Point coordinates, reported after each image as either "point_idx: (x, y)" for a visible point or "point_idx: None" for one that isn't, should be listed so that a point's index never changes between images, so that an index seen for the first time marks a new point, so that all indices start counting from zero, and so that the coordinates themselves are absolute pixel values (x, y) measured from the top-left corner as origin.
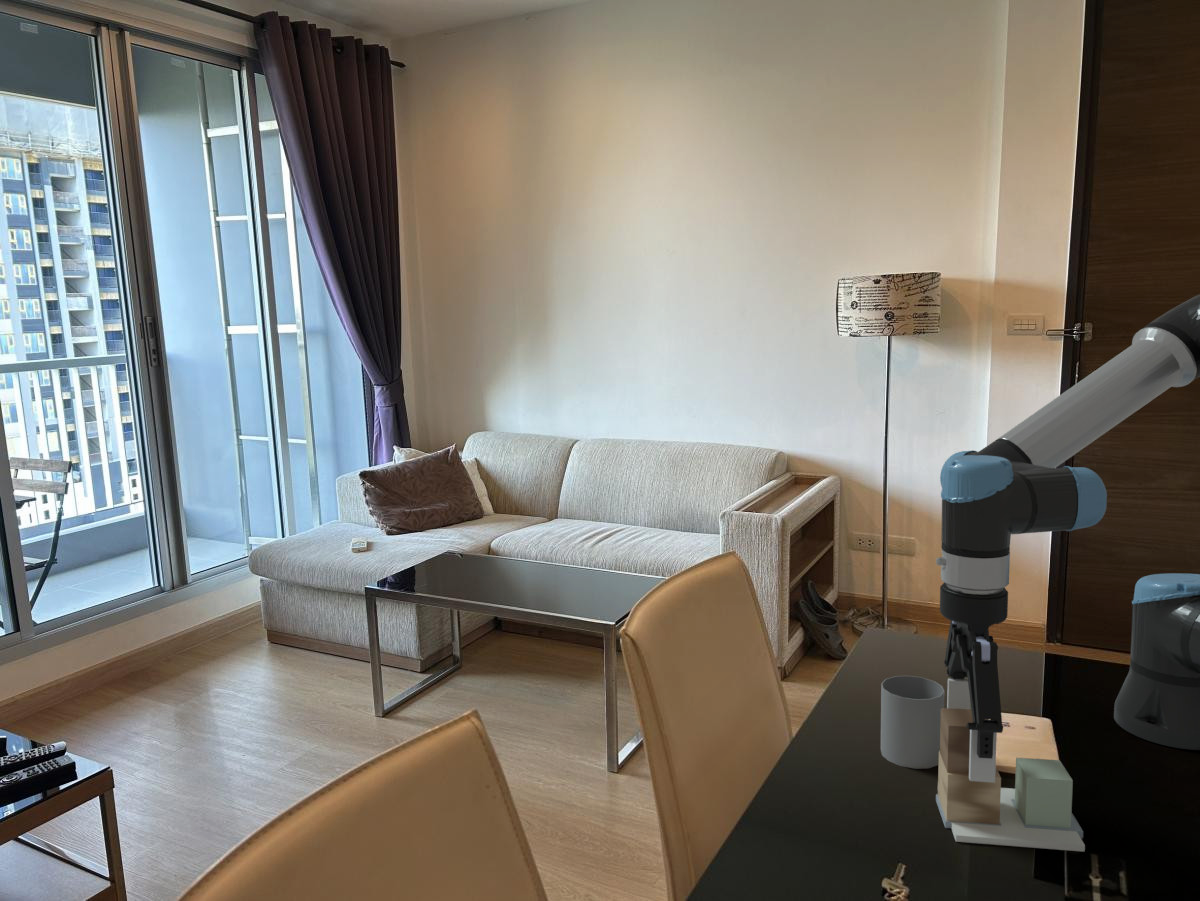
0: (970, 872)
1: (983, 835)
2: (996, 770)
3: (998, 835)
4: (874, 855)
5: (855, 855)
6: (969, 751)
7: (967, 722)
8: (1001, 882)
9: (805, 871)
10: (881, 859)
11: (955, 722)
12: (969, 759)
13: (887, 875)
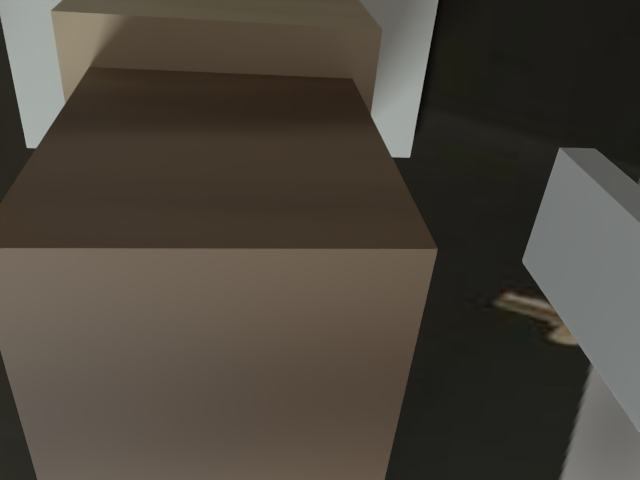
0: (566, 139)
1: (415, 63)
2: (289, 30)
3: (413, 2)
4: (459, 350)
5: (455, 383)
6: (599, 371)
7: (321, 407)
8: (632, 59)
9: (504, 458)
10: (477, 338)
11: (325, 471)
12: (574, 332)
13: (542, 331)
